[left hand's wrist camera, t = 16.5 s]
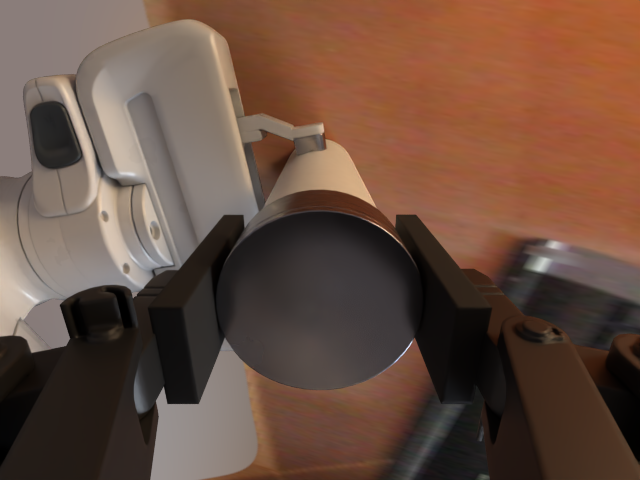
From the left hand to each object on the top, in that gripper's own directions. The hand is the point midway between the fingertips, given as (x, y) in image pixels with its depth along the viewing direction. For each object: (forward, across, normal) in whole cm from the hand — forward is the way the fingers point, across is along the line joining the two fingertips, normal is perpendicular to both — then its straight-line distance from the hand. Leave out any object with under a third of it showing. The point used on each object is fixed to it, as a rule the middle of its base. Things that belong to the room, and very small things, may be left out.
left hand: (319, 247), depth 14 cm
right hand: (+9, -1, 0) cm, 9 cm away
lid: (-4, 0, 0) cm, 4 cm away
